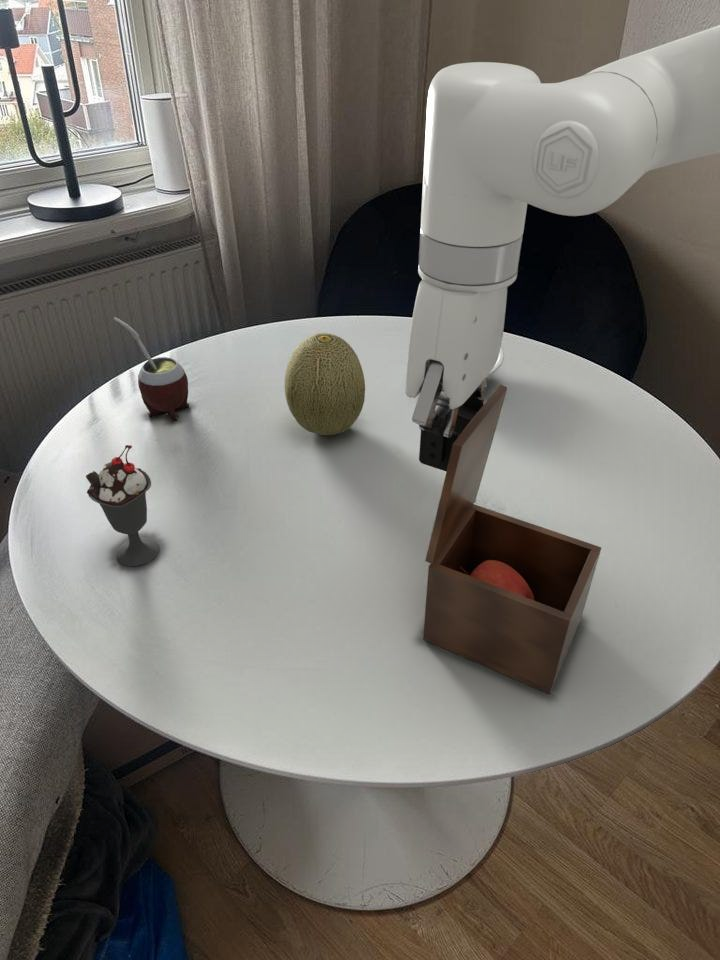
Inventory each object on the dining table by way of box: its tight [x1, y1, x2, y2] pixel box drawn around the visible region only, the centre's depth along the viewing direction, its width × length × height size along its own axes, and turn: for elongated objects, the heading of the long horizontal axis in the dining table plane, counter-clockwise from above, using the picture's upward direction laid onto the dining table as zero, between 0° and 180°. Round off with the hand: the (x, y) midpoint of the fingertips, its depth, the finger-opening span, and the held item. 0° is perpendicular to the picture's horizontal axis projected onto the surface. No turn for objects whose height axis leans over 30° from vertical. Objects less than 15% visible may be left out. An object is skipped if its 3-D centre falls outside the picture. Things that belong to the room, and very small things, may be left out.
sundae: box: [85, 444, 160, 567], centre depth 79 cm, size 7×7×15 cm
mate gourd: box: [113, 316, 190, 423], centre depth 103 cm, size 8×8×15 cm
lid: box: [425, 383, 509, 565], centre depth 66 cm, size 14×11×5 cm
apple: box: [460, 560, 534, 600], centre depth 72 cm, size 7×7×8 cm
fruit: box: [284, 332, 366, 436], centre depth 99 cm, size 11×11×15 cm
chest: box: [422, 503, 602, 695], centre depth 71 cm, size 14×11×11 cm
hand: (449, 447), depth 64 cm, fingers closed on lid, 5 cm apart
